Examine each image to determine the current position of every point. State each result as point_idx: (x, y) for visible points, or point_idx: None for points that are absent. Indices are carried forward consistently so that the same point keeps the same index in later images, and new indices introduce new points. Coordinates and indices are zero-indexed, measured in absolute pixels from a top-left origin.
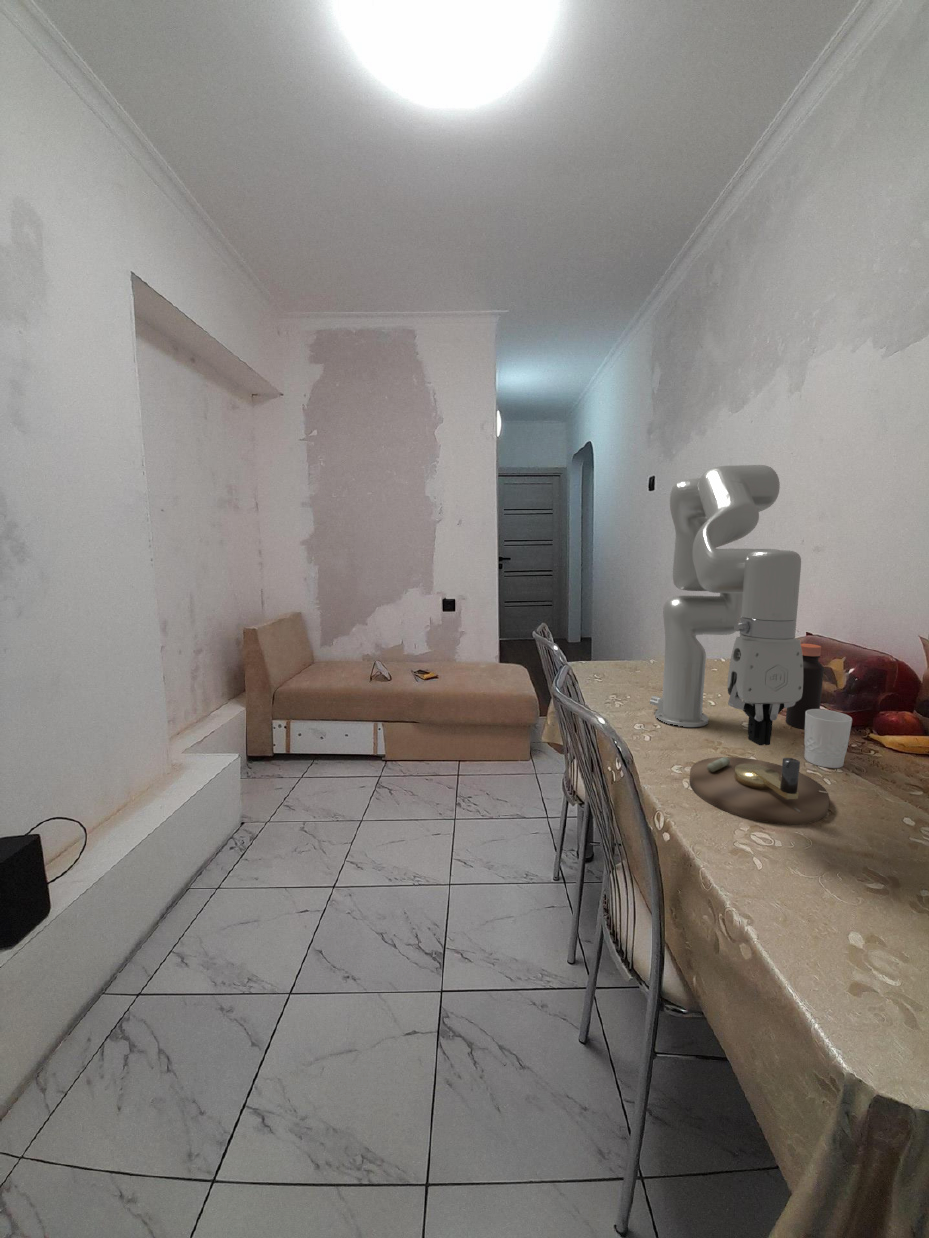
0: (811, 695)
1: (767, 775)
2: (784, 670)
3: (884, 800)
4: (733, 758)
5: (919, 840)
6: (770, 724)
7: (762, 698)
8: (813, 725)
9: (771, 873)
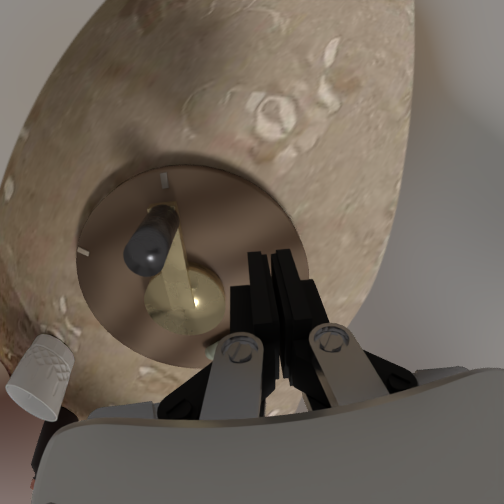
0: (47, 440)
1: (173, 286)
2: None
3: (14, 248)
4: (185, 363)
5: (20, 132)
6: (260, 310)
7: (440, 420)
8: (51, 395)
9: (324, 24)
